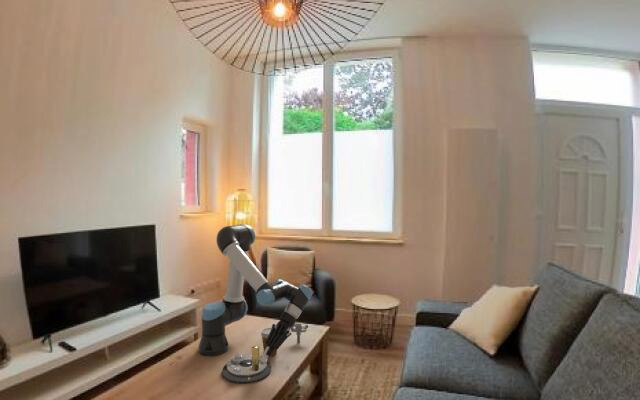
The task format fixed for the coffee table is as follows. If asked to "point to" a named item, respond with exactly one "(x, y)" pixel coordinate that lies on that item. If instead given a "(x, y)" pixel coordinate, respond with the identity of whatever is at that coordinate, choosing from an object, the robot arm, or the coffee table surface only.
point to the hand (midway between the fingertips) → (261, 361)
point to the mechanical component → (298, 330)
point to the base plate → (246, 379)
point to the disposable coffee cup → (264, 337)
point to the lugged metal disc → (246, 364)
